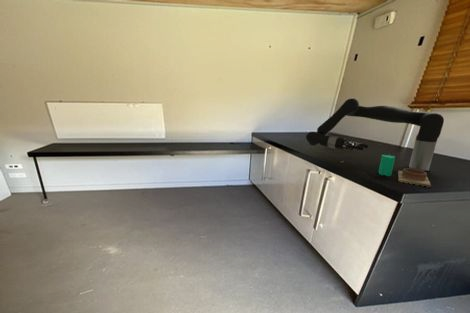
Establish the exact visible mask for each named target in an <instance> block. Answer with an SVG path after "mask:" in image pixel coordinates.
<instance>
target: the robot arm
mask: <svg viewBox="0 0 470 313" xmlns="http://www.w3.org/2000/svg"><path fill="white" fill-rule="evenodd" d="M347 116H348V117H356V118H357V117H359V118H366V119H369V120H370V119H371V120H375V121H381V122H387V123H396V124H399V123H400V124H409V125H414V126H418V127H419V130H418V133H417V134H416V137H415V141H414V144H413V149H412V152H411V153H412V154H411V157H410V161H409V165H408V168H409V169H417V170H421V171H424V172H426V171H429V170H430V167H431V165H432V164H431V163H432V160H433V156H434V153H435V150H436V144H437V142H438V139H439V138H440V135H441V133H442V130H443V126H444V117H443V116H442V115H441V114H440V113H437V112H424V111H422V112H420V111H412V110H409V109H404V108H400V107H396V106H389V105H374V106H362V105H360V104H359V101H358V99H356V98H349V99H347V100H345V101H344V102H343V104H342V105H340V107H339V108H338V109H337V110H336V111H335V112H334V113H333V114H332V115H331V116H330V117H329V118H327V119H326V120H325V121H324V122H323V123H321V124H320V126H318V127H317V130H316V131H310V132H307V134H306V135H305V138H306V139H305V140H306V141H307V142H308V144H309V145H310V146H317V145H318V144H320V146H323V147H328V148H331V149H337V150H340V151H341V150H342V151H344V150H345V149H347V150H351V151H353V150H355V151H356V150H358V151H364V149H368V148H369V144H367V143H362V142H359V141H352V140H349V141H348V139H347V138H346V137H340V136H333V135H328V133H330V131H332V130H333V129H334V128H335V127H336V126H337V125H338V124H339V123H340V122H341V120H342V119H344V117H347Z"/></svg>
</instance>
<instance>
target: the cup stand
mask: <svg viewBox="0 0 470 313" xmlns="http://www.w3.org/2000/svg"><path fill="white" fill-rule="evenodd" d="M397 179H398V180H397V181H399V183H403V182H404V183H405V184H408V183H409V184H410V185H413V184H415V185H414V186H419V185H421V186H420V187H424V186H426V187H425V188H429V187H430V188H432V185H431V181H430V180H429V177H428V174H427V172H426V171H422V170H417V169H412V168H409V167H407V168H403V169H402V170H400V169H399V170H398V171H397ZM409 184H408V185H409Z"/></svg>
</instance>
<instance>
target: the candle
mask: <svg viewBox="0 0 470 313" xmlns="http://www.w3.org/2000/svg"><path fill="white" fill-rule="evenodd" d="M395 160H396V156H395V155H390V154H388V155H387V154H381V158H380V163H379V168H378V173H379V174H378V175H380V174H381V175H380V176H383V175H386V176H385V177H391V176H392V174H393V168H394V165H395Z"/></svg>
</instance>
